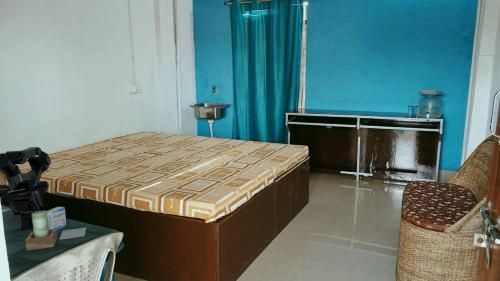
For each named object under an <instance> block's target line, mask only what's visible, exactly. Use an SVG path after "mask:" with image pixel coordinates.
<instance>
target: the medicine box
mask: <svg viewBox="0 0 500 281" xmlns="http://www.w3.org/2000/svg"><path fill="white" fill-rule="evenodd" d="M46 211H47V218H48V227H49V230H50V229H57V232H58V231H59V230H61V229H64V228H65V227H67V218H66V209H65V207H64V206H56V207H53V208H51V209H49V210H46Z"/></svg>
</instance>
